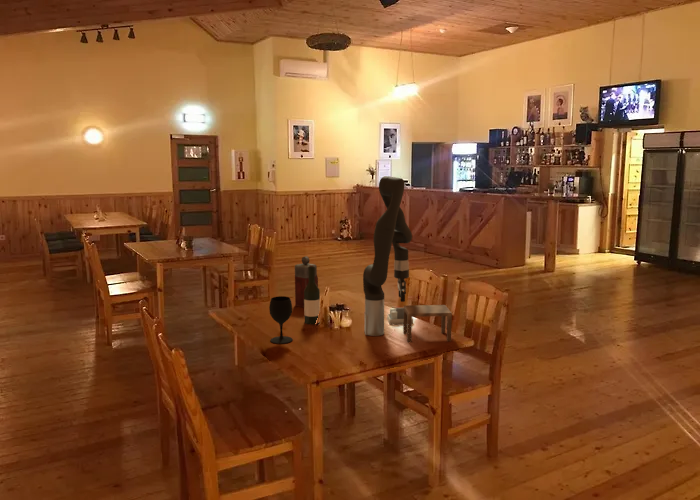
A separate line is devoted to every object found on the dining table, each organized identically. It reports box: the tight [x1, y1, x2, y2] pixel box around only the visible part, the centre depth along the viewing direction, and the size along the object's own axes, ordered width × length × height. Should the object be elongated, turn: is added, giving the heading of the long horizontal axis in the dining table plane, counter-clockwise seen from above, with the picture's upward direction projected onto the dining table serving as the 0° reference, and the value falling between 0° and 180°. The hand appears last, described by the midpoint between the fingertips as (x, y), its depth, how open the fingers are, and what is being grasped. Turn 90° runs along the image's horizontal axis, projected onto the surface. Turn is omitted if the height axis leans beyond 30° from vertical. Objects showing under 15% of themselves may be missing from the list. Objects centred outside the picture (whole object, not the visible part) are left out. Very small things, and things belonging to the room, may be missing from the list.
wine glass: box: [269, 295, 294, 345], centre depth 267 cm, size 10×10×20 cm
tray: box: [386, 307, 414, 325], centre depth 298 cm, size 12×10×7 cm
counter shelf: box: [402, 304, 453, 343], centre depth 273 cm, size 20×14×14 cm
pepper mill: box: [294, 256, 319, 308], centre depth 329 cm, size 9×11×28 cm
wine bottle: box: [303, 263, 321, 325], centre depth 295 cm, size 8×8×30 cm
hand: (401, 299), depth 297 cm, fingers open, 8 cm apart
